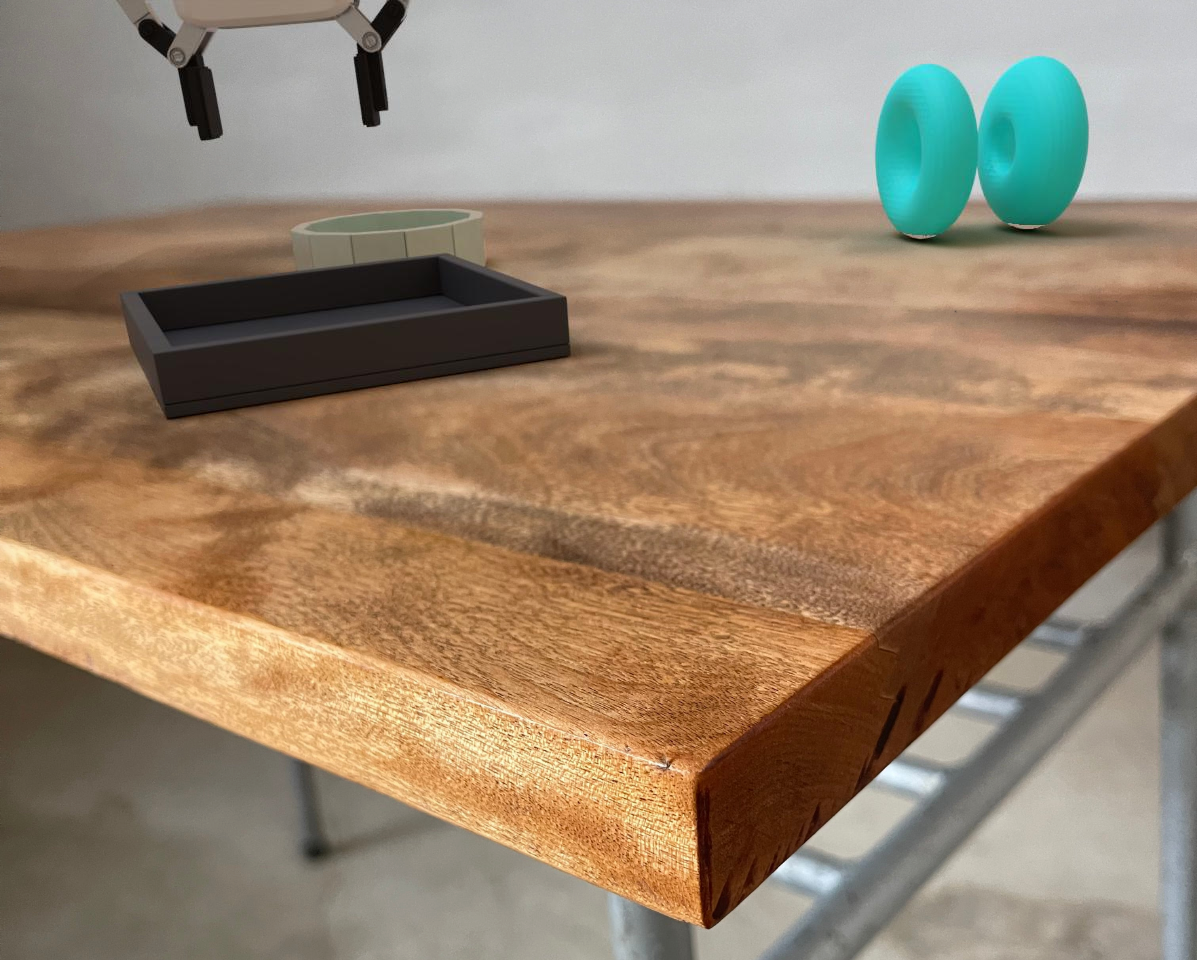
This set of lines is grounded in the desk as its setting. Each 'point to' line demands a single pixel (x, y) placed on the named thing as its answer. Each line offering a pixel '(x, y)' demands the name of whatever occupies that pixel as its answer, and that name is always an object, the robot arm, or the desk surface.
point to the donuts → (981, 146)
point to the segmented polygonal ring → (389, 237)
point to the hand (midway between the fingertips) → (292, 132)
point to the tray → (336, 330)
